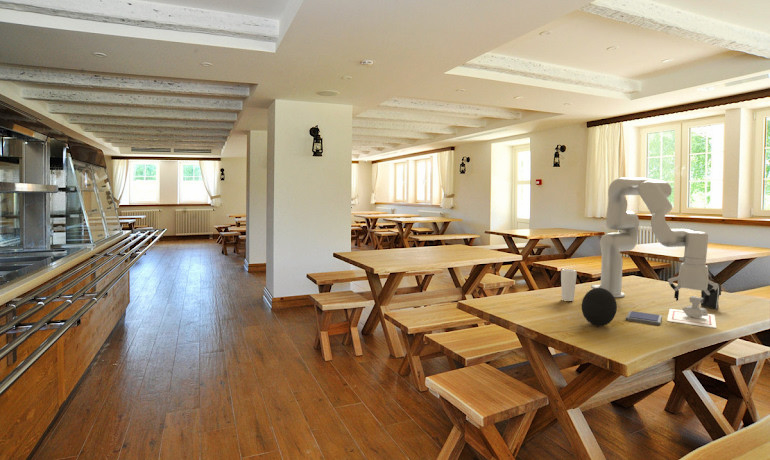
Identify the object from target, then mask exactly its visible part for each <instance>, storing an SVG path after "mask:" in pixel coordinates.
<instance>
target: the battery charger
mask: <svg viewBox="0 0 770 460" xmlns="http://www.w3.org/2000/svg"><path fill="white" fill-rule="evenodd" d="M715 283H716V284H718V285H719V287H718V288H717V289H716V291H715V292H713V293H712V294H710V295H709V302H706V305H705V304H704V297H705V294H706V293H705V292H704V291H703V290H700V294H701V295H700V297H701V298H703V302H702V303H701V304H700V305H701V306H702V307H705V308H709V309H714V310H718V309H719V299H720V296H721V295H722V285H721V284H719V283H717V282H715ZM712 288H713V286H712V285H710V284H708V288H707V289H708V290H711V289H712Z"/></svg>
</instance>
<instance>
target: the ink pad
mask: <svg viewBox="0 0 770 460" xmlns="http://www.w3.org/2000/svg"><path fill="white" fill-rule="evenodd" d="M662 319H663V315H661V314H655V313H648V312H640V311H633V310H629V311H628V312H627V315H626V316H625V321H627V320H629V322H633V321H635V323H640V322H641V323H642V324H647V325H653V324H654V325H656V326H661V323H662Z"/></svg>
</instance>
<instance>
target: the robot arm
mask: <svg viewBox="0 0 770 460" xmlns="http://www.w3.org/2000/svg"><path fill="white" fill-rule="evenodd" d="M671 194H672V186H671V185H670V183H669V182H667V181H665V180H660V179H653V178H647V177H627V176H625V177H619V178H616V179H614V180H612V182H611V183H610V184H609V186H608V190H607V197H608V199H607V201H608V202H607V211H606V217H605V218H606V219H605V226H606V228H607V229H609V230H611V231H620V232H608V233H605V234H604V235H602V236H601V238H600V241H599V245H600V249H601V250H600V251H601V252H600V253H601V267H600V268H601V270H600V284H598V285H596V284H591V286H590V288H591V289H594V288H603V289H606V290H608V291H609V292H610V293H611V294H612V295H613V296H614V298H624V297H625V293H624V292H622V282H623V281H622V280H623V263H624V260H623V257H622V255H621V252H629V251H633V249H635V247H636V245H637V242H638V236H639V229H640V219H639V216H638V215H637V213H635V211H630V210H628V200H627V197H626V196H639V197H640V198H641V199H642V201H643V203H644V204H645V206H646V207H647V209H648V211H649V212H650V214H651V219H650V226H651V227H650V228H651V231H652V234H654V236H655V238H656V239H657V241H658V242H659V243H660V245H662V246H664V247H667V248H674V247H675V248H679V247H684V253H683V257H681V256H680V257H679V262H680V261H681V264H680V267H679V271H678V276H673V277H670V278H668V279H667V282H668V284H669V286H670V287H671V289H672V290H673V291H674V297H673V298H674V299H675V302H677V301H679V295H680V290H681V289H686V290H687V289H688V290H696V291H701V290H703V291H704V292H705V293H706V294H705V297H704V304H705V305H706V302H709V295H710V294H712V293H713V292H715V291H716V289H717V288H718V287H719V285H718V284H719V283H718V284H716V283H717V282H714V281H712V280H710V279H709V267H708V265H706V264H707V263H706V261H707V253H708V245H709V243H708V242H709V234H708V233H707V232H705V231H696V230H695V231H694V230H691V229H688V228H672V229H671V227H670V226H669V224H668V223H667V221H666V215H667V214H669V213H670V212H671V211H672V210H673V205H672V204H671V202H670V200H669V199H668V198H669V197H670V196H671ZM675 281H677V285H675V284H674V283H673V282H675ZM708 284H710V285H712V286H713V288H712V289H711V290H708V289H707V288H708Z"/></svg>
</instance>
